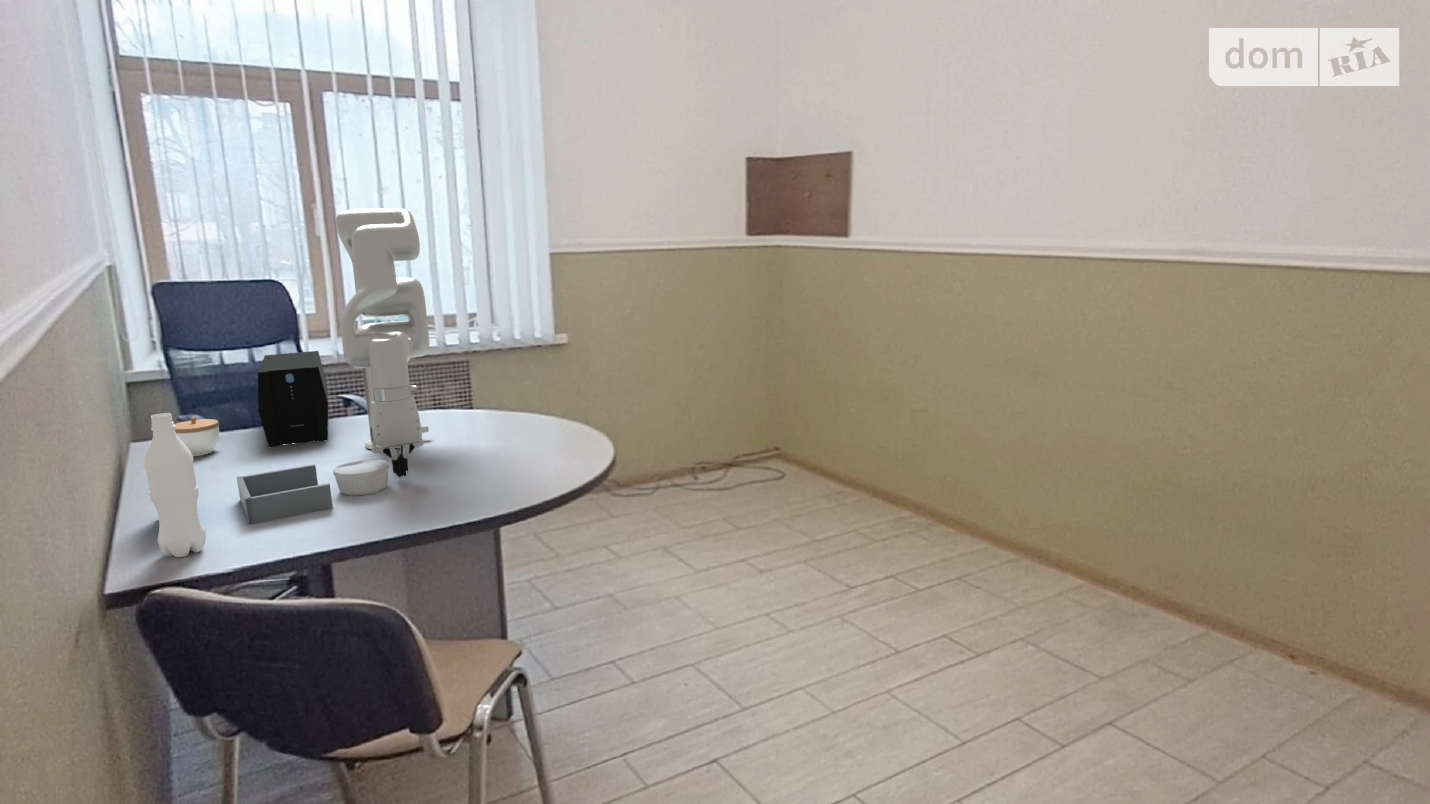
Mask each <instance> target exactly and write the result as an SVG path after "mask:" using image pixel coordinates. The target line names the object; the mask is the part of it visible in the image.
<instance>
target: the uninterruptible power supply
mask: <svg viewBox="0 0 1430 804" xmlns="http://www.w3.org/2000/svg"><path fill="white" fill-rule="evenodd" d="M257 405H258V406H257V407H258V410H257V411H258V414H259V418H260V421H261V426H262V429H263V432H264V437H265V439H266V442H267V446H268V448H269V447H270V448H277V447H276V446H278V447H280V446H279V445H282V446H284V445H283V444H290V445H293V444H292V443H299V444H305V443H306V442H307V443H312V442H313V443H315V442H325V441H324V440H328V441H329V396H328V382H327V380H326V375H325V371H324V367H323V364H322V360H321V357H320V352H319V350H311V351H300V352H289V353H288V352H287V353H275V354H266V355H264V356H263V359H262V361H261V363H260V367H259V369H258V371H257ZM314 441H315V442H314Z"/></svg>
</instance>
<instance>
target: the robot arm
mask: <svg viewBox="0 0 1430 804" xmlns="http://www.w3.org/2000/svg"><path fill="white" fill-rule="evenodd" d="M335 227H336V231H337V234H338V237H339V239H340V241H341V243H342V245H343V246H344V248H345V250H346V252H347V253H348V256H349V259H350V260H351V264H352V269H353V270H352V272H353V277H354V278H353V279H354V287H355V294H354V295H353V296H352V297H351V298H350V300H348V303H347V304H346V306H345V307H344V310H343V311H342V315H341V318H340V333H341V334H340V335H341V343H342V351H343V356H344V360H345V362H346V363H347V365H348V366H349V367H352V368H353V369H361V370H362V376H363V382H364V391H365V400H366V410H367V417H368V425H369V436H370V437H369V439H367V440H366V441H365V442H364V446H365V448H366V449H369V450H371V451H372V453H373V454H376V455H377V454H379V455H380V454H381V455H383V454H384V455H386V456H387V457H389V458H390V460H391V466H392V468H391V469H392V472H393V474H395V476H397V477H398V478H401V477H407V474H408V473H407V472H408V471H409V463H408V462H409V461H408V458H409V457H410V454H412V452H413V451H414V449H417V448H419V447H422V446H424V440H423V434H424V433H425V434H426V433H429V431H430V430H429V425H427V424H424V425H422V424H421V419H420V414H419V411H418V406H417V403H416V399H415V398H414V396H413V394H414V393H416V392H418V386H417V385H411V382H410V376H409V374H410V373H409V366H408V365H409V364H408V362H409V361H410V359H412V358H419V357H423V356H426V355H427V354H428V353H429V350H430V333H429V323H428V316H427V315H428V314H427V305H426V297H425V292H424V289H423V286H422V284H421V282H420V281H419V280H418V279H416V278H414V277H397V275H396V267H395V262H401V261H404V262H405V261H415V260H416V259H417V258H418V257H419V255H420V248H421V244H420V243H421V242H420V237H419V232H418V228H417V226H416V222H415V219H414V216H413V214H412V213H411V212H410V211H409V210H408V209H405V208H358V209H357V208H354V209H348V210H343V211H341V212H339V213H338V214H337V215H336V217H335ZM360 315H363V316H365V317H367V318H386V317H387V318H388V317H389V318H390V317H407V318H408V320H399V321H397V320H396V321H382V322H381V321H380V322H369V323H365V324H363V325H361V326H360V327H359V328H357V330H356V331H355V322H356V321H357V319H358V317H359V316H360ZM395 448H396V449H395ZM397 449H399V450H400V451H399V455H398V452H397Z"/></svg>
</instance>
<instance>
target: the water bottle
mask: <svg viewBox="0 0 1430 804" xmlns="http://www.w3.org/2000/svg"><path fill="white" fill-rule="evenodd" d="M172 415H173V414H172V413H171V412H163V413H156V414H152V415H151V416H150V419H151V425H150V426H151V427H150V431H152V439H151V442H150V445H149V446H148V448H147V451H146V453H145V457H144V461H143V462H144V463H143V464H144V465H143V466H144V468H145V471H146V476H147V482H148V487H149V500H150V501H151V502H152V504H153V505H154V508H155V509H156V512H157V516H158V521H159V525H158V526H159V529H158V535H157V544H158V547H159V549H160V550H161V552H162V553H163V554H164V555H165V556H166V557H168V556H169V557H172V556H173V557H175V558H184V557H187V556H188V555H189V552H190V550H191V551H192V552H194V553H195V554H196V553H197V554H198V553H199V552H201V551H202V550H203V549H204V546H205V544H206V539H207V534H206V530H205V528H204V526H203V525H202V523H201V520H200V518H199V513H198V498H199V493H200V492H199V486H198V484H197V478H196V472H195V467H194V465H195V464H194V456H192V454H191V452H190V450H189V449H188V448H187V446H186V445H185V444H184V443H183V442H182V441H181V440H180V438H179V437H178V436H177V434H176V432H175V429H174V428H175V425H174V424H175V422H174V421H173V416H172Z"/></svg>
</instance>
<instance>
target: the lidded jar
mask: <svg viewBox="0 0 1430 804" xmlns="http://www.w3.org/2000/svg"><path fill="white" fill-rule="evenodd" d="M173 424H174V425H175V428H174V429H175V432H176V434H177V436H178V437H179V438H180V440H181V441H182V442H183V443H184V444H185V445H186V446H187V448H188V449H189V450H190V452H191V454H192V456H193V457H201V456H205V454H206V455H209V454H212V453H213V451H214V449H215V448H216V447H217V446H218V443H219V440H220V427H219V425H220V422H219V421H218V420H217V419H214V418H213V419H211V418H201V419H196V417H195V416H192V417H190V420H185V421H182V422H177V423H176V422H175V423H173ZM208 453H209V454H208Z"/></svg>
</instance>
